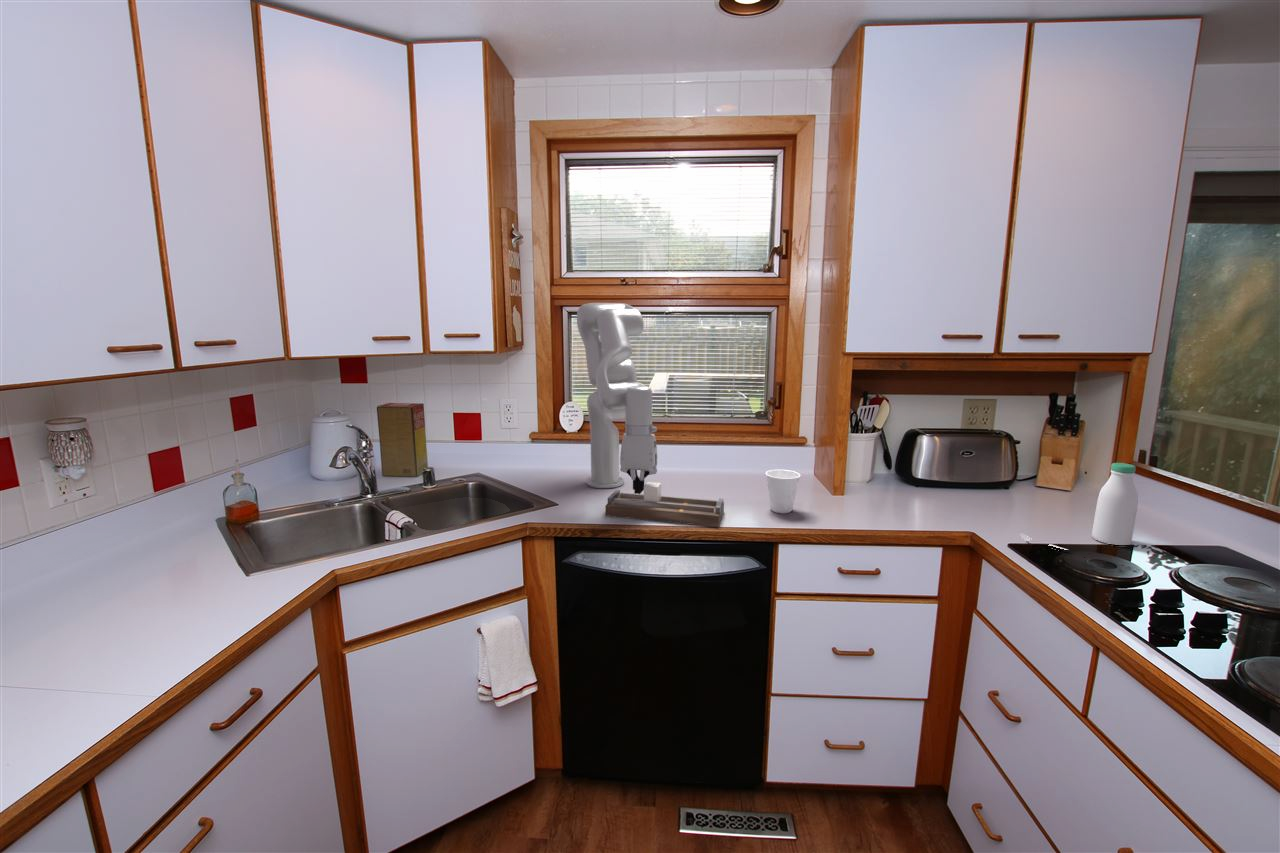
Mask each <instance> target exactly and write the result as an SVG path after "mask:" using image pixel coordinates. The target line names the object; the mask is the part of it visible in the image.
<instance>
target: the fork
mask: <svg viewBox="0 0 1280 853" xmlns="http://www.w3.org/2000/svg"><path fill="white" fill-rule="evenodd" d="M1018 535H1019V537H1021V538H1022V539H1023V540H1024V541H1025V542H1026V541H1030V539H1031V540H1032V539H1033V538H1032V537H1030V536H1028V535H1027V534H1025V533H1024V532H1022V533H1020V534H1018ZM1048 544H1049V543H1048ZM1048 546H1053V547H1056V548H1060V549H1064V550H1068V548H1064V547H1060V546H1057V545H1054V544H1051V543H1050V544H1049V545H1048Z"/></svg>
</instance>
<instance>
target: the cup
mask: <svg viewBox="0 0 1280 853" xmlns="http://www.w3.org/2000/svg"><path fill="white" fill-rule="evenodd" d="M765 477H766V483H767V489H768V490H767V491H768V499H769V501H768V502H769V508H770V509H771V510H770V511H772V512H774V513H777V514H788V513H791V512H792V510H793V507H794V502H795V498H796V495H797V494H796V493H797V490H798V487H799V486H798V485H799V482H800V478H801V477H802V476H801V474H800V473H799V472H797V471H794V470H789V469H780V468H779V469H770V470H767V471H766V472H765Z"/></svg>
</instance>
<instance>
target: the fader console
mask: <svg viewBox="0 0 1280 853" xmlns="http://www.w3.org/2000/svg"><path fill="white" fill-rule="evenodd" d="M724 510H725V502H724V498H718V500H716V499H704V498H703V499H702V498H693V497H680V496H667V495H661V500H660V502H652V501H644V493H641V494H638V493H637V494H635V493H632V492H621V491H620V490H619V489H615V490H614V491H613V492H612V493H611V494H610V495H609V496H608V497H607V504H605V515H606V516H605V517H613V516H616V518H624V519H626V518H627V519H634V518H635V519H637V520H647V521H655V522H656V521H657V522H668V523H679V524H685V525H687V524H689V525H697V526H707V525H708V526H710V527H718V526H719V527H720V524H721V521H722V519H723V518H722V517H723V515H724V513H725V512H724Z"/></svg>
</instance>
